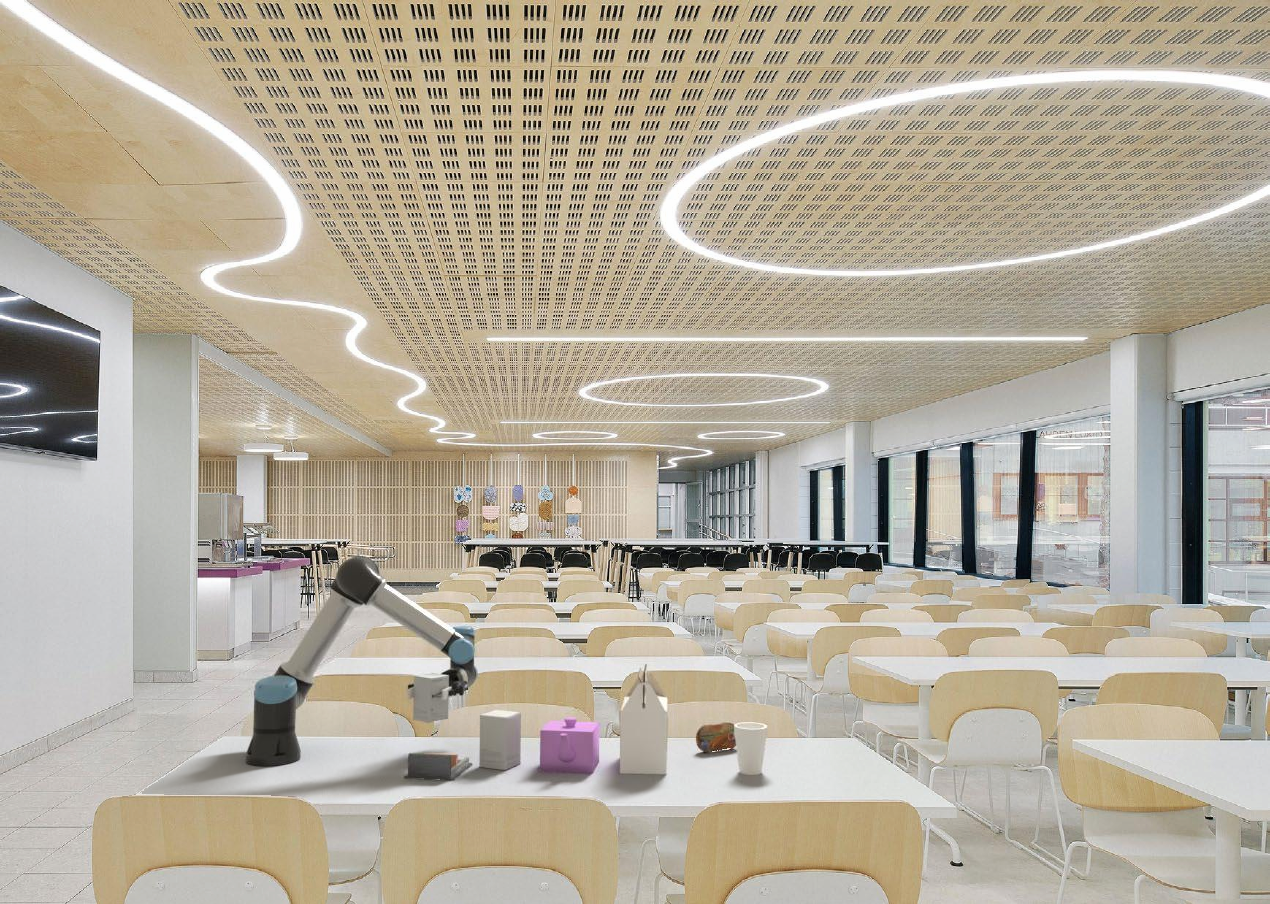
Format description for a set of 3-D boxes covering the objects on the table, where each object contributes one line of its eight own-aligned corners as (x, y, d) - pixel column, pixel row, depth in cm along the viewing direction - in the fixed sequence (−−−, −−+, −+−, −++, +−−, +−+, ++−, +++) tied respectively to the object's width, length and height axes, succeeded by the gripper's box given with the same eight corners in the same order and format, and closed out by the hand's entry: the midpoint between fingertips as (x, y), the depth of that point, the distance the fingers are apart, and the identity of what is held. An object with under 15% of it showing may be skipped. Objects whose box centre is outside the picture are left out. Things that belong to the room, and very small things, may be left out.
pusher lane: (404, 778, 268) (404, 753, 269) (426, 762, 285) (426, 739, 286) (453, 780, 266) (453, 755, 267) (472, 764, 283) (472, 741, 283)
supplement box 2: (521, 763, 285) (522, 711, 286) (505, 771, 277) (506, 717, 278) (495, 760, 289) (496, 708, 290) (478, 767, 281) (479, 714, 282)
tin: (699, 754, 298) (700, 726, 299) (694, 752, 301) (694, 724, 302) (739, 749, 306) (739, 721, 307) (733, 747, 309) (733, 720, 309)
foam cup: (745, 777, 272) (745, 730, 273) (727, 770, 280) (727, 724, 281) (773, 774, 276) (773, 727, 277) (755, 766, 285) (755, 721, 285)
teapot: (534, 778, 269) (535, 727, 270) (551, 756, 294) (552, 709, 295) (588, 780, 268) (589, 729, 269) (601, 758, 293) (601, 711, 293)
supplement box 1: (429, 723, 277) (430, 678, 278) (412, 719, 281) (412, 675, 282) (449, 719, 283) (449, 674, 284) (432, 715, 287) (432, 672, 288)
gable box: (623, 754, 297) (624, 661, 299) (667, 755, 297) (667, 662, 298) (619, 774, 275) (620, 673, 277) (666, 775, 274) (667, 674, 276)
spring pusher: (424, 767, 277) (424, 753, 277) (425, 766, 278) (426, 752, 279) (456, 768, 276) (456, 755, 276) (457, 767, 277) (457, 754, 277)
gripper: (486, 694, 298) (463, 709, 276) (417, 692, 302) (388, 707, 280) (486, 670, 299) (463, 682, 277) (417, 668, 302) (389, 680, 280)
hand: (425, 694), depth 278 cm, fingers closed on supplement box 1, 10 cm apart
